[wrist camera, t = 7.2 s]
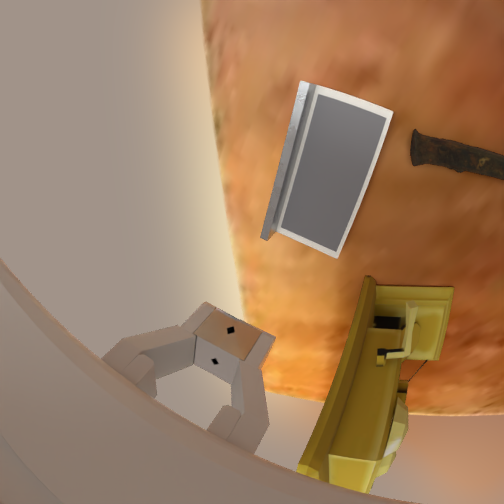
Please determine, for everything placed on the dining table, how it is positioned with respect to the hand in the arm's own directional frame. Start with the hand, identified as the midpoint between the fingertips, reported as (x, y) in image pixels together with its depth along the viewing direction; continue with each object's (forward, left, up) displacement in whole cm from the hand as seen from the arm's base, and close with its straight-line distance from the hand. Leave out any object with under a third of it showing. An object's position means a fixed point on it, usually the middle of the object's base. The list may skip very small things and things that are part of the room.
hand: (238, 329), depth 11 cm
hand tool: (-9, -7, -34) cm, 36 cm away
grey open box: (+3, +1, -31) cm, 31 cm away
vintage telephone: (-18, +20, -31) cm, 41 cm away
